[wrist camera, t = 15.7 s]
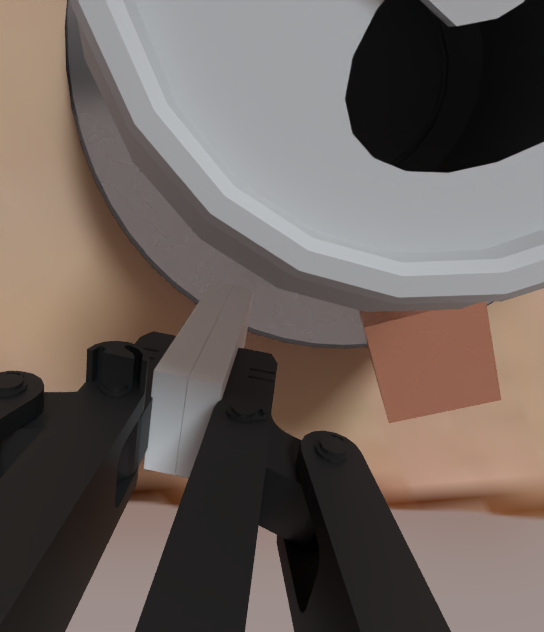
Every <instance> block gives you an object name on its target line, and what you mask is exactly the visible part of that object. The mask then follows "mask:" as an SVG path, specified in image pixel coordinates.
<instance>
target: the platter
mask: <svg viewBox="0 0 544 632" xmlns="http://www.w3.org/2000/svg"><path fill="white" fill-rule="evenodd" d="M67 29H68V61H69V70H70V78H71V86H72V94H73V100H74V104H75V108H76V112H77V116H78V121H79V125H80V129H81V133H82V137H83V139H84V142H85V145H86V148H87V151H88V153H89V156H90V159H91V162H92V165H93V167H94V170H95V172H96V174H97V176H98V178H99V180H100V183H101V185H102V187H103V189H104V191H105V193H106V195H107V197H108V199H109V201H110V203H111V205H112V206H113V208H114V209H115V211H116V212H117V214H118V215H119V217H120V219H121V220H122V222H123V223H124V225H125V226H126V228H127V230H128V231H129V233H130V234H131V235H132V236H133V238H134V239H135V240H136V241H137V242H138V244H139V245H140V246H141V247H142V249H143V250H144V251H145V252H146V254H147V255H148V256H149V257H150V258H151V259H152V260H153V261H154V262H155V263H156V264H157V265H158V266H159V267H160V268H161V269H162V270H163V271H164V272H165V273H166V274H167V275H168V276H169V277H170V278H171V279H172V280H173V281H174V282H176V283H177V284H178V285H179V286H181V287H182V288H183V289H185V290H186V291H187V292H189V293H190V294H191V295H193V296H194V297H195V298H196V299H198V300H199V301H200V299H201V298H202V296H203V295H204V293H205V292H206V290H207V288H208V287H209V285H210V284H211V282H212V281H215V282H220V283H225V284H230V285H233V286H234V285H235V286H240V287H245V288H250V289H255V292H254V297H253V302H252V308H251V313H250V319H249V324H248V326H249V327H251V328H253V329H256V330H260V331H263V332H266V333H269V334H273V335H276V336H279V337H283V338H288V339H293V340H299V341H305V342H310V343H321V344H339V345H350V344H366V343H367V346H368V350H369V354H370V357H371V361H372V364H373V368H374V371H375V375H376V379H377V382H378V386H379V389H380V393H381V396H382V400H383V404H384V407H385V411H386V414H387V418H388V421H389V423H392V422H397V421H401V420H406V419H411V418H416V417H421V416H425V415H430V414H435V413H440V412H445V411H450V410H454V409H459V408H464V407H469V406H474V405H479V404H483V403H488V402H493V401H498V400H501V396H500V389H499V383H498V377H497V370H496V364H495V357H494V351H493V344H492V338H491V331H490V325H489V318H488V312H487V304H489V303H491V302H492V301H488V302H480V303H477V304H474V305H471V306H468V307H464V308H461V309H446V310H413V311H381V312H364V311H360V310H356V309H353V308H349V307H345V306H342V305H338V304H334V303H330V302H327V301H323V300H319V299H316V298H312V297H308V296H305V295H301V294H297V293H293V292H290V291H286V290H282V289H279V288H277V287H275V286H274V285H272V284H270V283H269V282H267V281H266V280H264V279H263V278H261V277H259V276H258V275H256V274H255V273H253V272H251V271H250V270H248V269H247V268H245V267H244V266H242V265H240V264H239V263H237V262H236V261H234V260H232V259H231V258H229V257H228V256H226V255H225V254H223V253H221V252H220V251H218V250H217V249H215V248H213V247H212V246H210V245H209V244H207V243H206V242H204V241H202V240H201V239H199V237H198V236H197V235H196V234H195V233H194V232H193V231H192V229H191V228H190V227H189V226H188V225H187V224H186V222H185V221H184V220H183V219H182V218H181V217H180V216H179V214H178V213H177V212H176V211H175V210H174V209H173V207H172V206H171V205H170V204H169V203H168V202H167V201H166V199H165V198H164V197H163V196H162V195H161V194H160V192H159V191H158V190H157V189H156V188H155V187H154V186H153V184H152V183H151V182H150V181H149V180H148V179H147V178H146V176H145V175H144V174H143V173H142V172H141V171H140V169H139V168H138V167H137V166H136V165H135V164H134V163H133V161H132V158H131V156H130V154H129V152H128V150H127V148H126V146H125V144H124V141H123V139H122V137H121V135H120V133H119V131H118V129H117V127H116V124H115V122H114V120H113V118H112V116H111V114H110V112H109V110H108V107H107V105H106V103H105V101H104V99H103V97H102V95H101V93H100V90H99V88H98V86H97V84H96V82H95V80H94V78H93V76H92V73H91V71H90V69H89V67H88V65H87V63H86V61H85V59H84V53H83V48H82V43H81V37H80V32H79V27H78V21H77V17H76V15H75V13H74V11H73V8H72V5H71V0H69V1H68V11H67Z"/></svg>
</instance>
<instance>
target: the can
mask: <svg viewBox="0 0 544 632" xmlns="http://www.w3.org/2000/svg"><path fill="white" fill-rule="evenodd" d="M71 5H72V8H73V11H74V13H75V15H76V17H77V21H78V27H79V32H80V37H81V43H82V48H83V53H84V59H85V61H86V63H87V65H88V67H89V69H90V71H91V73H92V76H93V78H94V80H95V82H96V84H97V86H98V88H99V90H100V93H101V95H102V97H103V99H104V101H105V103H106V105H107V107H108V110H109V112H110V114H111V116H112V118H113V120H114V122H115V124H116V127H117V129H118V131H119V133H120V135H121V137H122V139H123V141H124V144H125V146H126V148H127V150H128V152H129V154H130V156H131V158H132V161H133V163H134V164H135V165H136V166H137V167H138V168H139V169H140V171H141V172H142V173H143V174H144V175H145V176H146V178H147V179H148V180H149V181H150V182H151V183H152V184H153V186H154V187H155V188H156V189H157V190H158V191H159V192H160V194H161V195H162V196H163V197H164V198H165V199H166V201H167V202H168V203H169V204H170V205H171V206H172V207H173V209H174V210H175V211H176V212H177V213H178V214H179V216H180V217H181V218H182V219H183V220H184V221H185V222H186V224H187V225H188V226H189V227H190V228H191V229H192V231H193V232H194V233H195V234H196V235H197V236H198V237H199V239H201V240H202V241H204V242H206V243H207V244H209V245H210V246H212V247H213V248H215V249H217V250H218V251H220V252H221V253H223V254H225V255H226V256H228V257H229V258H231V259H232V260H234V261H236V262H237V263H239V264H240V265H242V266H244V267H245V268H247V269H248V270H250V271H251V272H253V273H255V274H256V275H258V276H259V277H261V278H263V279H264V280H266V281H267V282H269V283H270V284H272V285H274V286H275V287H277V288H279V289H282V290H286V291H290V292H293V293H297V294H301V295H305V296H308V297H312V298H316V299H319V300H323V301H327V302H330V303H334V304H338V305H342V306H345V307H349V308H353V309H356V310H360V311H364V312H381V311H413V310H446V309H461V308H464V307H468V306H471V305H474V304H477V303H480V302H488V301H504V300H507V299H510V298H513V297H517V296H520V295H523V294H526V293H529V292H533V291H536V290H539V289H542V288H544V0H71Z"/></svg>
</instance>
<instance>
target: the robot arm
mask: <svg viewBox="0 0 544 632" xmlns="http://www.w3.org/2000/svg"><path fill="white" fill-rule="evenodd" d="M254 292H255V289H250V288H245V287H240V286H235V285H234V286H233V285H230V284H225V283H220V282H215V281H212V282H211V284H210V285H209V287H208V288H207V290H206V292H205V293H204V295H203V296H202V298H201V299H200V301H199V302H198V304H197V305H196V307H195V308H194V310H193V311H192V313H191V314H190V316H189V317H188V319H187V321H186V322H185V324H184V325H183V327H182V328H181V330H180V331H179V333H178V334H177V336H173V335H168V334H164V333H159V332H154V331H153V332H151V333H149V334H146V335H144V336H142V337H140V338H139V339H138V341H137V342H136V343H135V344H132V343H129V342H121V341H110V342H103V343H99V344H95V345H93V346H92V347H90V348H88V349H87V370H86V383H85V384H84V385H83V386H82V387H81V388H80V389H79V391H78V392H44V384H43V382H42V380H41V378H39V377H37V376H36V375H34V374H31V373H27V372H22V371H6V372H0V632H65V630H66V628H67V626H68V624H69V622H70V620H71V618H72V616H73V614H74V612H75V610H76V608H77V606H78V604H79V602H80V600H81V598H82V595H83V593H84V591H85V589H86V587H87V585H88V583H89V581H90V579H91V577H92V575H93V573H94V570H95V569H96V566H97V564H98V562H99V560H100V558H101V556H102V554H103V552H104V550H105V548H106V546H107V544H108V542H109V540H110V538H111V536H112V533H113V531H114V529H115V527H116V525H117V523H118V521H119V519H120V517H121V515H122V513H123V511H124V509H125V507H126V505H127V503H128V500H129V498H130V496H131V494H132V492H133V490H134V488H135V486H136V483H137V478H138V467H139V464H140V462H141V460H142V458H143V456H144V454H145V462H144V469H147V470H152V471H157V472H161V473H166V474H171V475H176V476H181V477H186V478H189V479H188V482H187V485H186V488H185V491H184V494H183V497H182V499H181V502H180V505H179V508H178V511H177V514H176V516H175V520H174V522H173V525H172V528H171V531H170V534H169V537H168V539H167V542H166V545H165V548H164V551H163V554H162V557H161V560H160V562H159V565H158V568H157V571H156V573H155V576H154V580H153V582H152V585H151V588H150V591H149V593H148V596H147V599H146V602H145V605H144V608H143V611H142V613H141V616H140V619H139V622H138V625H137V628H136V631H135V632H245V625H246V618H247V610H248V602H249V595H250V587H251V579H252V571H253V563H254V555H255V548H256V540H257V533H258V525H259V526H261V527H263V528H265V529H267V530H269V531H271V532H273V533H275V534H277V546H278V551H279V557H280V561H281V567H282V572H283V576H284V582H285V587H286V592H287V597H288V601H289V607H290V612H291V617H292V622H293V627H294V632H451V631H450V629H449V627H448V625H447V623H446V621H445V619H444V617H443V615H442V613H441V611H440V609H439V607H438V605H437V603H436V601H435V599H434V597H433V595H432V593H431V591H430V589H429V587H428V585H427V583H426V581H425V579H424V577H423V575H422V573H421V571H420V569H419V567H418V565H417V563H416V561H415V559H414V557H413V555H412V553H411V551H410V549H409V547H408V545H407V543H406V541H405V539H404V537H403V535H402V533H401V531H400V529H399V527H398V525H397V523H396V521H395V519H394V517H393V515H392V513H391V511H390V509H389V507H388V505H387V503H386V501H385V499H384V497H383V495H382V493H381V491H380V489H379V487H378V485H377V483H376V481H375V479H374V477H373V475H372V473H371V471H370V469H369V467H368V465H367V463H366V461H365V459H364V457H363V455H362V453H361V451H360V450H359V449H358V447H357V446H356V445H355V444H354V443H353V442H351V441H350V440H349V439H347V438H346V437H344V436H341V435H339V434H336V433H333V432H327V431H315V432H311V433H309V434H307V435H305V436H304V438H303V439H302V440H300V439H297V438H295V437H293V436H291V435H289V434H287V433H285V432H284V431H283V430H281V429H280V428H279V427H278V426H277V425H276V424H275V422H274V421H273V419H272V415H271V409H272V401H273V393H274V386H275V378H276V370H277V362H276V361H275V359H274V357H273V356H272V354H269V353H264V352H259V351H254V350H249V349H244V346H245V341H246V335H247V330H248V324H249V319H250V313H251V308H252V302H253V297H254Z"/></svg>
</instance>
